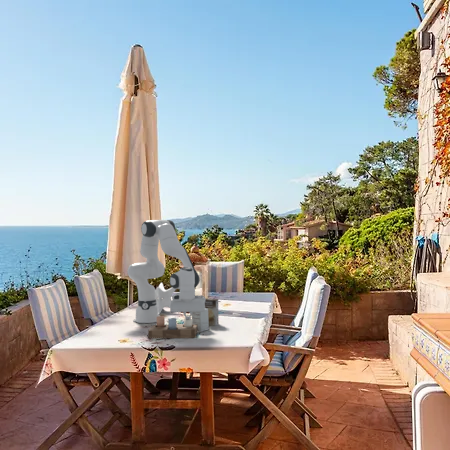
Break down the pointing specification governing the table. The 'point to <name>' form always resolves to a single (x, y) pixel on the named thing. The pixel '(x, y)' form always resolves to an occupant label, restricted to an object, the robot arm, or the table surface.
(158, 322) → the tan rounded short cylinder
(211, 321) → the coffee box
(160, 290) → the starfish
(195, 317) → the supplement box
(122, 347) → the table surface
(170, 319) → the key slate
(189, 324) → the cream egg-shaped piece
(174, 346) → the table surface
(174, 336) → the tray
